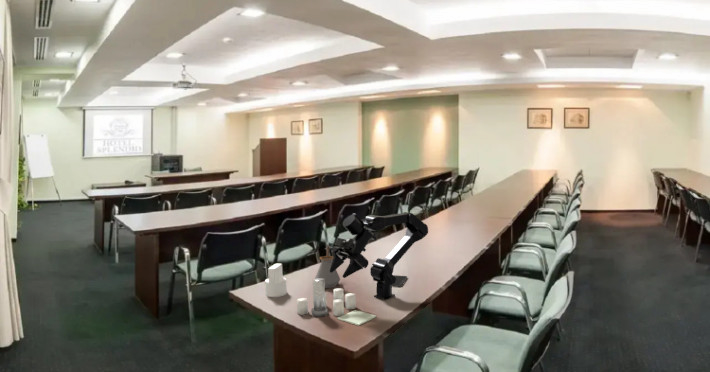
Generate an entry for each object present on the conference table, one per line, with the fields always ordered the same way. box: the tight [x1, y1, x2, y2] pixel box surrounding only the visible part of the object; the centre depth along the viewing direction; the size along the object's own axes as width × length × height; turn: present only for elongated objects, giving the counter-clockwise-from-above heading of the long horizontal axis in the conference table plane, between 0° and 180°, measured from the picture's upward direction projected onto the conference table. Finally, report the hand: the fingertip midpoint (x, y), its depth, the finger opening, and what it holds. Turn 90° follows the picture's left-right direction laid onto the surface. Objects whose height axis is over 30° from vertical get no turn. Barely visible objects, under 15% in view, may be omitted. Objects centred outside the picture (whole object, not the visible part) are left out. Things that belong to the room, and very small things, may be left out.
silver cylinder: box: [311, 278, 329, 318], centre depth 170 cm, size 6×6×13 cm
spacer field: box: [296, 287, 357, 317], centre depth 175 cm, size 21×16×5 cm
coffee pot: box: [314, 245, 341, 289], centre depth 210 cm, size 21×12×15 cm, turn 0°
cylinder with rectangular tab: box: [264, 263, 288, 298], centre depth 196 cm, size 9×9×12 cm
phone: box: [392, 274, 408, 288], centre depth 209 cm, size 8×1×15 cm
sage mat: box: [337, 309, 377, 326], centre depth 166 cm, size 10×10×1 cm
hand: (336, 274), depth 174 cm, fingers open, 9 cm apart
